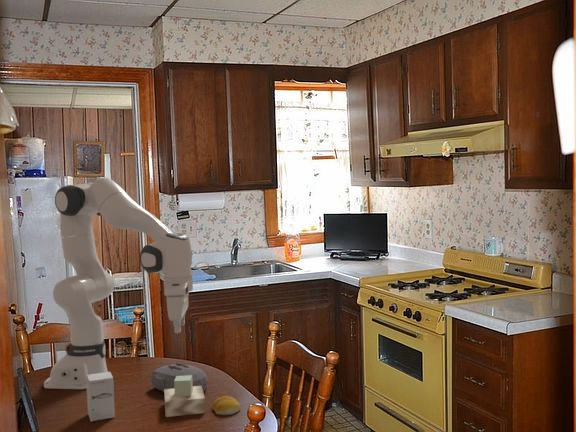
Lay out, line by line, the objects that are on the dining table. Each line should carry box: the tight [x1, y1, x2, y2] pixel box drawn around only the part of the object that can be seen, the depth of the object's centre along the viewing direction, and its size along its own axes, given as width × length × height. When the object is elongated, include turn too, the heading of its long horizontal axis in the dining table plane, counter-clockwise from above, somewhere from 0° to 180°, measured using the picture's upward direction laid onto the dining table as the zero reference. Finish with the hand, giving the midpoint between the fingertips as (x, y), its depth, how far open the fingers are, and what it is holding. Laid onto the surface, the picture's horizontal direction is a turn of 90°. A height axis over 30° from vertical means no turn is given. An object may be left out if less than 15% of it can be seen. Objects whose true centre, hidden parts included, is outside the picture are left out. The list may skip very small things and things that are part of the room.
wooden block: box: [163, 386, 206, 418], centre depth 199 cm, size 12×12×5 cm
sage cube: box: [174, 375, 193, 397], centre depth 199 cm, size 5×5×5 cm
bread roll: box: [212, 395, 241, 416], centre depth 196 cm, size 8×9×4 cm
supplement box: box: [86, 371, 116, 423], centre depth 194 cm, size 7×7×13 cm
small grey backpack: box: [150, 362, 209, 393], centre depth 217 cm, size 15×8×20 cm
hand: (179, 328), depth 199 cm, fingers open, 8 cm apart
